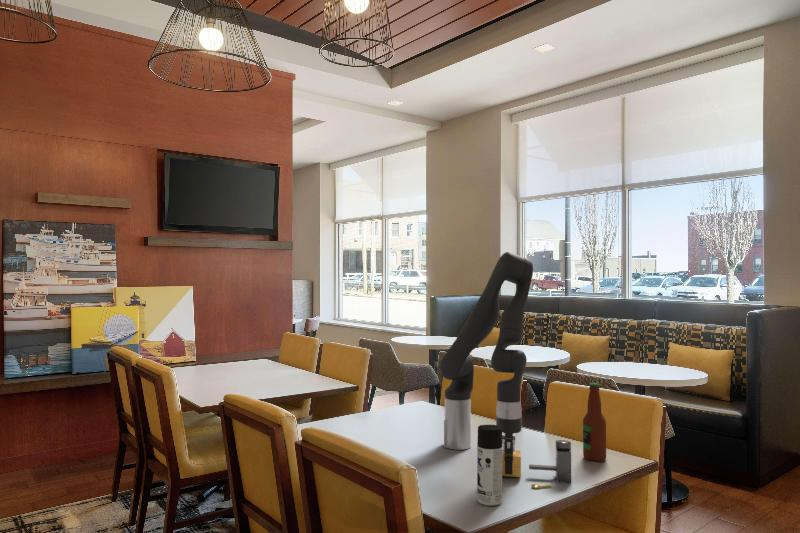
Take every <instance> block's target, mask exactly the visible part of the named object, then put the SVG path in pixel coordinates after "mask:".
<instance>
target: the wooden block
mask: <svg viewBox="0 0 800 533" xmlns="http://www.w3.org/2000/svg"><path fill="white" fill-rule="evenodd" d="M521 451H522V450H518V449H517V450H516V449H515V453H514V454H513V462H512V474H511V475H510V474H505V460H504V458H505V454H504V453H503V448H502V477H515V478H516V477H517V478H520V477H522V473H521V472H522V469H521V468H522V456H521V455H522V454H521ZM506 457H511V454H506Z"/></svg>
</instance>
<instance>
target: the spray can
mask: <svg viewBox="0 0 800 533" xmlns="http://www.w3.org/2000/svg"><path fill="white" fill-rule="evenodd" d="M502 435H503V432H502V427H500V426H497V425H496V424H479V426H477V444H476V445H477V448H476V449H477V456H476V457H477V459H476V460H477V462H476V464H477V466H476V468H477V469H476V470H477V473H476V475H477V478H476V482H477V484H476V486H477V487H476V494H477V495H476V499H477V502H478V504H480V505H482V506H486V507H498V506H500V505H501V504H502V502H503V476H502V449H503V444H502Z"/></svg>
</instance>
